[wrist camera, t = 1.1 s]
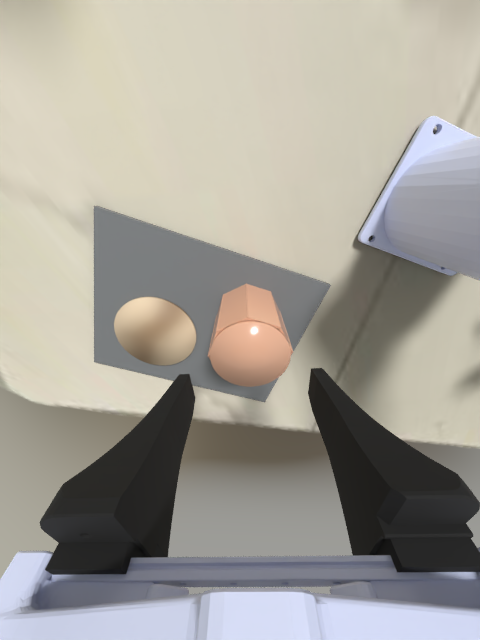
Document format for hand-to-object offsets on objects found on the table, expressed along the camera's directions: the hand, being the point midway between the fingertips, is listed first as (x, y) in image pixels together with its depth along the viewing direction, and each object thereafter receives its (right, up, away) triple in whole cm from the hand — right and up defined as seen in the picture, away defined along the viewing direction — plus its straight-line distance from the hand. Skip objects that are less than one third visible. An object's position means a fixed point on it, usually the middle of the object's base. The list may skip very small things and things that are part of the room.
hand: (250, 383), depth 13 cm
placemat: (-5, +3, +9) cm, 11 cm away
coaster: (-9, +3, +9) cm, 13 cm away
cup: (0, +4, +8) cm, 9 cm away
